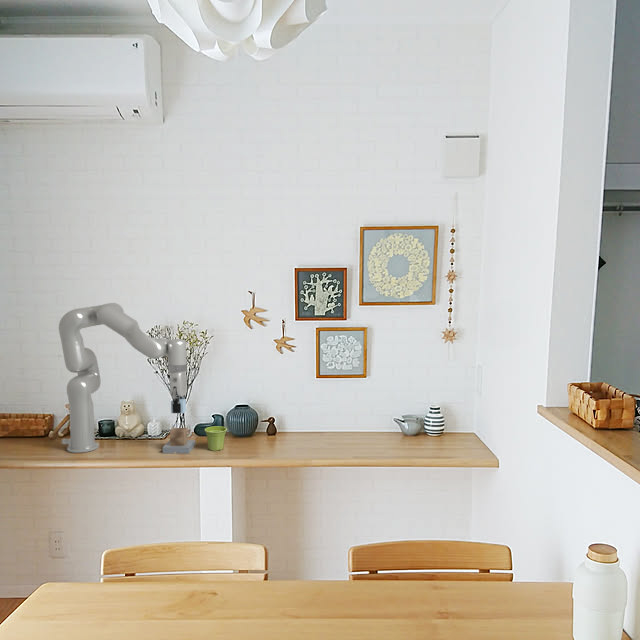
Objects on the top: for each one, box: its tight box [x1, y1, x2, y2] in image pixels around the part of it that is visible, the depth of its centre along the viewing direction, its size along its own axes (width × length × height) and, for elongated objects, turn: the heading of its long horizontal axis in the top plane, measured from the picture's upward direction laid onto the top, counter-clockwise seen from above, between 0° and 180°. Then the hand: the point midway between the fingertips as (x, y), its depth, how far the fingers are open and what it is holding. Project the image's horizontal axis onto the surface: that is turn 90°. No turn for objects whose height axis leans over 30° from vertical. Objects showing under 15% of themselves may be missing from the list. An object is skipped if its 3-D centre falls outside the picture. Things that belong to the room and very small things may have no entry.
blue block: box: [170, 398, 187, 414], centre depth 253 cm, size 5×5×5 cm
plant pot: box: [204, 425, 228, 452], centre depth 255 cm, size 9×9×9 cm
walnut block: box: [169, 427, 189, 446], centre depth 254 cm, size 6×6×6 cm
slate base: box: [162, 439, 196, 454], centre depth 254 cm, size 11×11×2 cm
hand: (178, 410), depth 253 cm, fingers closed on blue block, 5 cm apart
